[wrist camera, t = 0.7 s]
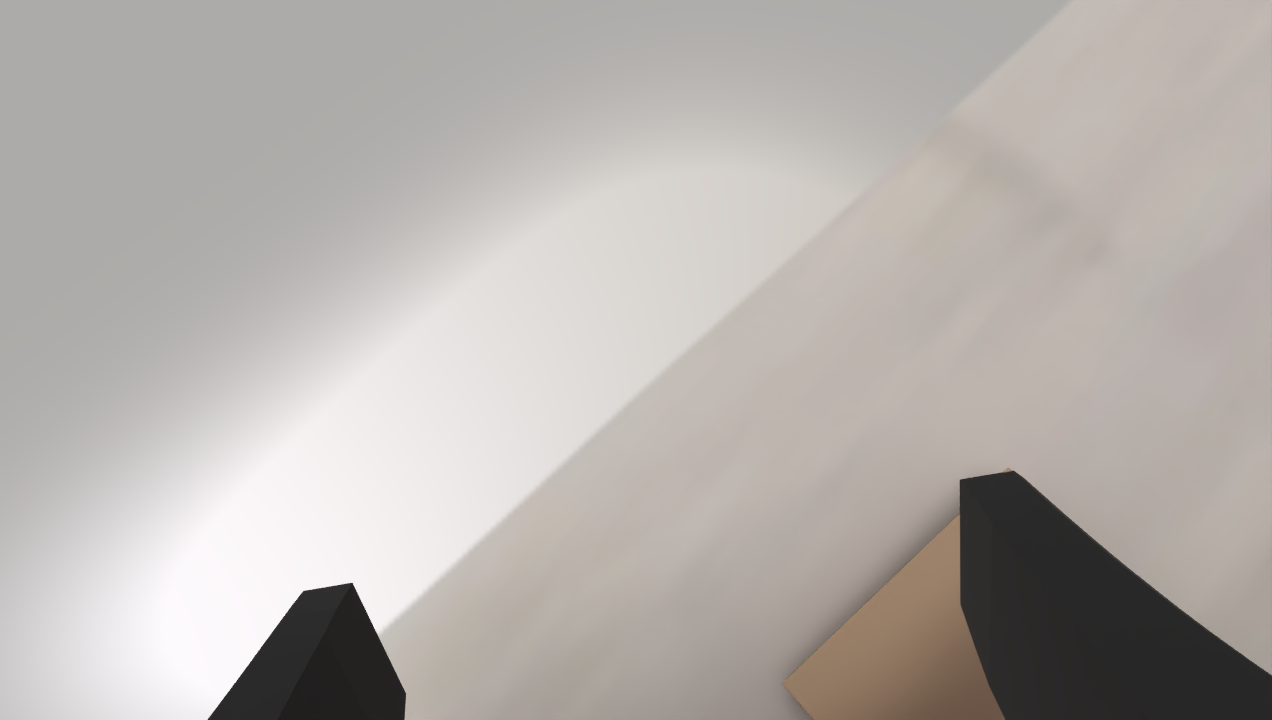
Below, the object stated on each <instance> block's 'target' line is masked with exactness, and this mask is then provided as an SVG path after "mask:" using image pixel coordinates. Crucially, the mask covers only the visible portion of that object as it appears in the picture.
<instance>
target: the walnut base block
mask: <svg viewBox="0 0 1272 720" xmlns="http://www.w3.org/2000/svg"><path fill="white" fill-rule="evenodd" d="M1009 471H1011V470H1010V469H1009V468H1007V469H1006V470H1005V471H1004V472H1009ZM782 684H783V686H784V687H785V688H786V689H787V690H788V691H789V692H790V694H791V695H792V696H793V697H794V698H795V699H796V700H797V702H798V703H799V704H800V705H801V706H802V707H803V708H804V710H805V711H806V712H807V713H808V714H809V715H810V716H811V717H812V719H813V720H1005V718H1004V716H1003V714H1002V712H1001V710H1000V708H999V706H998V704H997V701H996V699H995V697H994V695H993V693H992V691H991V689H990V687H989V684H988V682H987V679H986V676H985V673H984V671H983V668H982V665H981V662H980V660H979V657H978V654H977V651H976V648H975V646H974V643H973V640H972V637H971V634H970V631H969V628H968V625H967V622H966V619H965V616H964V614H963V611H962V608H961V605H960V514H959V515H958V516H957V517H956V518H955V519H954V520H952V521H951V522H950V523H949V524H948V525H947V526H946V527H945V528H944V529H943V530H942V531H941V532H940V533H939V534H938V535H937V536H936V537H935V538H934V539H933V540H932V541H930V542H929V543H928V544H927V545H926V546H925V547H924V548H923V549H922V550H921V551H920V552H919V553H918V554H917V555H916V556H915V557H914V558H913V559H912V560H911V561H910V562H909V563H907V564H906V565H905V566H904V567H903V568H902V569H901V570H900V571H899V572H898V573H897V574H896V575H895V576H894V577H893V578H892V579H891V580H890V581H889V582H888V583H887V584H885V585H884V586H883V587H882V588H881V589H880V590H879V591H878V592H877V593H876V594H875V595H874V596H873V597H872V598H871V599H870V600H869V601H868V602H867V603H866V604H865V605H864V606H862V607H861V608H860V609H859V610H858V611H857V612H856V613H855V614H854V615H853V616H852V617H851V618H850V619H849V620H848V621H847V622H846V623H845V624H844V625H843V626H842V627H840V628H839V629H838V630H837V631H836V632H835V633H834V634H833V635H832V636H831V637H830V638H829V639H828V640H827V641H826V642H825V643H824V644H823V645H822V646H821V647H820V648H818V649H817V650H816V651H815V652H814V653H813V654H812V655H811V656H810V657H809V658H808V659H807V660H806V661H805V662H804V663H803V664H802V665H801V666H800V667H799V668H798V669H797V670H795V671H794V672H793V673H792V674H791V675H790V676H789V677H788V678H787V679H786V680H785V681H784V682H783V683H782Z"/></svg>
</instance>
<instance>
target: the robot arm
mask: <svg viewBox="0 0 1272 720" xmlns="http://www.w3.org/2000/svg"><path fill="white" fill-rule="evenodd" d="M960 605H961V608H962V611H963V614H964V616H965V619H966V622H967V625H968V628H969V631H970V634H971V637H972V640H973V643H974V646H975V648H976V651H977V654H978V657H979V660H980V662H981V665H982V668H983V671H984V673H985V676H986V679H987V682H988V684H989V687H990V689H991V691H992V693H993V695H994V697H995V699H996V701H997V704H998V706H999V708H1000V710H1001V712H1002V714H1003V716H1004V718H1005V720H1272V675H1271V674H1269V673H1268V672H1266V671H1265V670H1263V669H1262V668H1260V667H1259V666H1257V665H1256V664H1255V663H1253V662H1252V661H1250V660H1249V659H1248V658H1246V657H1245V656H1243V655H1242V654H1241V653H1239V652H1238V651H1236V650H1235V649H1234V648H1232V647H1231V646H1229V645H1228V644H1227V643H1225V642H1224V641H1222V640H1221V639H1220V638H1218V637H1217V636H1215V635H1214V634H1213V633H1211V632H1210V631H1209V630H1207V629H1206V628H1205V627H1203V626H1202V625H1201V624H1199V623H1198V622H1197V621H1195V620H1194V619H1193V618H1191V617H1190V616H1189V615H1187V614H1186V613H1185V612H1183V611H1182V610H1181V609H1179V608H1178V607H1177V606H1176V605H1174V604H1173V603H1172V602H1170V601H1169V600H1168V599H1167V598H1165V597H1164V596H1163V595H1162V594H1160V593H1159V592H1158V591H1157V590H1155V589H1154V588H1153V587H1152V586H1150V585H1149V584H1148V583H1146V582H1145V581H1144V580H1143V579H1141V578H1140V577H1139V576H1138V575H1136V574H1135V573H1134V572H1133V571H1131V570H1130V569H1129V568H1128V567H1126V566H1125V565H1124V564H1123V563H1122V562H1120V561H1119V560H1118V559H1117V558H1115V557H1114V556H1113V555H1112V554H1111V553H1109V552H1108V551H1107V550H1106V549H1105V548H1103V547H1102V546H1101V545H1100V544H1099V543H1098V542H1096V541H1095V540H1094V539H1093V538H1092V537H1091V536H1089V535H1088V534H1087V533H1086V532H1085V531H1083V530H1082V529H1081V528H1080V527H1079V526H1078V525H1077V524H1075V523H1074V522H1073V521H1072V520H1071V519H1070V518H1068V517H1067V516H1066V515H1065V514H1064V513H1063V512H1062V511H1060V510H1059V509H1058V508H1057V507H1056V506H1055V505H1054V504H1053V503H1051V502H1050V501H1049V500H1048V499H1047V498H1046V497H1045V496H1043V495H1042V494H1041V493H1040V492H1039V491H1038V490H1037V489H1036V488H1035V487H1033V486H1032V485H1031V484H1030V483H1029V482H1028V481H1027V480H1025V479H1024V478H1023V477H1022V476H1020V475H1019V474H1018V473H1016V472H1015V471H1009V472H1003V473H997V474H991V475H985V476H979V477H973V478H967V479H961V480H960ZM405 701H406V693H405V691H404V689H403V687H402V685H401V683H400V681H399V678H398V676H397V674H396V672H395V670H394V668H393V666H392V664H391V662H390V660H389V658H388V656H387V654H386V652H385V649H384V647H383V645H382V643H381V641H380V639H379V637H378V635H377V633H376V631H375V629H374V627H373V625H372V623H371V620H370V619H369V616H368V614H367V612H366V610H365V608H364V606H363V604H362V602H361V600H360V598H359V596H358V594H357V592H356V589H355V587H354V585H353V583H348V584H342V585H337V586H331V587H326V588H319V589H313V590H307V591H303V592H302V594H301V595H300V596H299V597H298V599H297V600H296V601H295V603H294V604H293V605H292V606H291V608H290V609H289V610H288V612H287V613H286V614H285V616H284V617H283V619H282V620H281V621H280V623H279V624H278V625H277V627H276V628H275V629H274V631H273V632H272V634H271V635H270V636H269V638H268V639H267V640H266V642H265V643H264V644H263V646H262V647H261V649H260V650H259V651H258V653H257V654H256V655H255V657H254V658H253V660H252V661H251V662H250V664H249V665H248V666H247V668H246V669H245V670H244V672H243V673H242V674H241V676H240V677H239V678H238V680H237V681H236V683H235V684H234V685H233V687H232V688H231V689H230V691H229V692H228V693H227V695H226V696H225V697H224V699H223V700H222V701H221V703H220V704H219V705H218V707H217V708H216V709H215V711H214V712H213V713H212V715H211V716H210V717H209V718H208V720H404V717H405Z"/></svg>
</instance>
